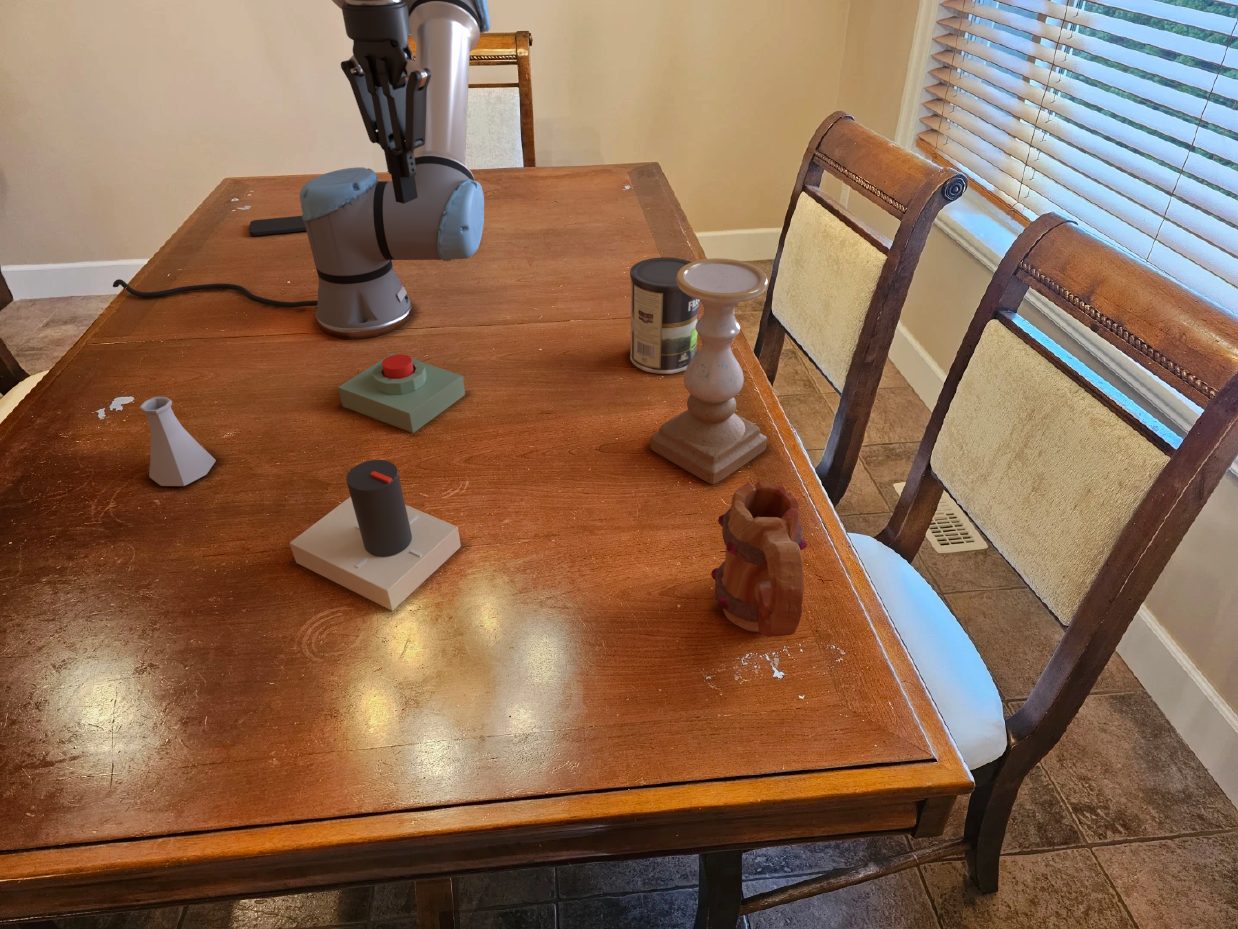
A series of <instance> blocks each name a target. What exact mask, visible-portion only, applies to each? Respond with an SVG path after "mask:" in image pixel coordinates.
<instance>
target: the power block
mask: <svg viewBox="0 0 1238 929" xmlns="http://www.w3.org/2000/svg"><path fill="white" fill-rule="evenodd" d="M397 354H398V353H395V352H392V353H390V354H389V355H386V356H385V357H384V358H382V359H381V360H379V361H378V362H376V363H375V364H373V365H370V367H367V368H366V369H365V370H363V371H361V372H359V373H358V374H356V375H354V376H353V377H352V378H350V379H348V380H347V381H346V382H344V383H342V384H341V385H338V386H337V390H338V391H337V392H338V394H339V397H340V403H341V406H342V407H343V408H345V409H348V410H351V411H354V412H357V413H358V414H362V415H364V416H367V417H370V418H372V419H374V420H377V421H380V422H383V423H385V424H387V425H391V426H393V427H396V428H398V429H400V430H404V431H406V432H409V433H412V434H414V433H415V432H417V431H418V430H419V429H421V428H422V427H423V426H425V425H426V424H427V423H429V422H430V421H432V420H433V419H434V418H435V417H437V416H439V415H440V414H442V412H444V411H445V410H447V409H448V408H449V407H451V406H452V405H454V404H455V403H456V402H457V401H459V400H460V399H462V398H463V397H464V396H466V390H465V383H464V382H465V381H464V375H462V374H459V373H455V372H453V371H450V370H447V369H444V368H440V367H438V366H436V365H433V364H432V365H431V364H429V363H427V362H423V361H421V360H419V359H416V358H413V357H411V359H412V363H413V369H414V372H413V374H411V375H410V376H408V377H405V378H401V379H389V378H386V377H385V375H384V371H383V367H382V361H383V360H384V359H385V358H387V357H389V356H392V355H397Z"/></svg>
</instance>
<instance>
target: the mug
mask: <svg viewBox="0 0 1238 929" xmlns="http://www.w3.org/2000/svg"><path fill="white" fill-rule="evenodd" d="M799 511H800V503H799V500H798V499H797V498H796V497H794V495H793V494H792V493H790V492H787V490H786V489H785V487H784V486H782V485H781V484H777V483H773V482H768V481H763V480H759V481H757V482H756V484H753V483H751V482H750V481H747V482H746V483H745V484H743V485H742V486H740V487H739V488H737V489H736V490H735V492H734V493H733V495H732V498H731V505H730V508H728V510H727V511H726V512H725V513H722V514H721V515H719V516H718V519H717V523H718V524H719V526H721V528H722V530H721V531H722V532H721V534H722V540H723V543H724V545H725V557H724V561H722V563H721V564H720V565H719V566H718V567H716V568H713V569H712V570H711V573H710V575H711V578H712V579H713V581H714V594H715V597H716V599H717V604H718V606H719V607H720V608H721V609H722V611H723V614H724V616H725V617H726V619H727V620H728V621H729V622H731V623H732V624H734V625H736V626H737V627H739V628H741V629H744V630H746V631H748V632H755V633H760V634H761V635H762V636H764V637H767V638H773V637H783V636H784V637H785V636H791V635H794V634H795V633H796V631H797V629H798V627H799V625H800V621H801V618H802V613H803V600H804V593H805V581H804V560H803V556H802V551H803V550H805V549H806V548H807V546H808V543H807V541H806V539H805V538H804V537H803V527H802V524H801V522H800V520H799V519H800V512H799Z"/></svg>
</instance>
